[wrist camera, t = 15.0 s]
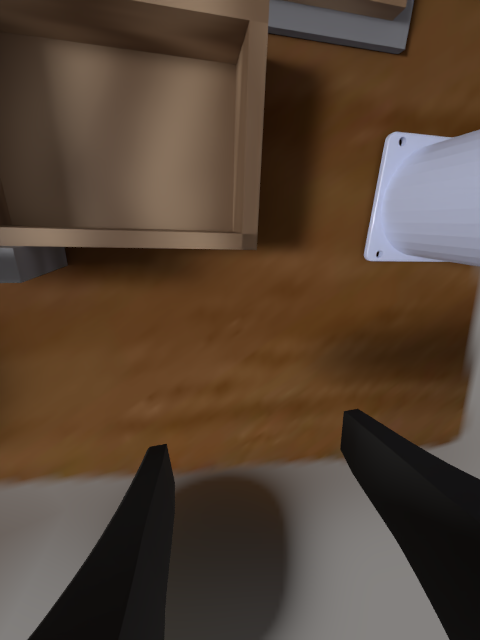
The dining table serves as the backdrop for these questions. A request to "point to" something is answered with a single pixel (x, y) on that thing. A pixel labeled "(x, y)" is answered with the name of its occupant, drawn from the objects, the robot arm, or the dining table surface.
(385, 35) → the lid mat
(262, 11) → the toolbox
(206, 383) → the dining table surface
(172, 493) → the robot arm
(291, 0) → the toolbox lid
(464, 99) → the dining table surface
